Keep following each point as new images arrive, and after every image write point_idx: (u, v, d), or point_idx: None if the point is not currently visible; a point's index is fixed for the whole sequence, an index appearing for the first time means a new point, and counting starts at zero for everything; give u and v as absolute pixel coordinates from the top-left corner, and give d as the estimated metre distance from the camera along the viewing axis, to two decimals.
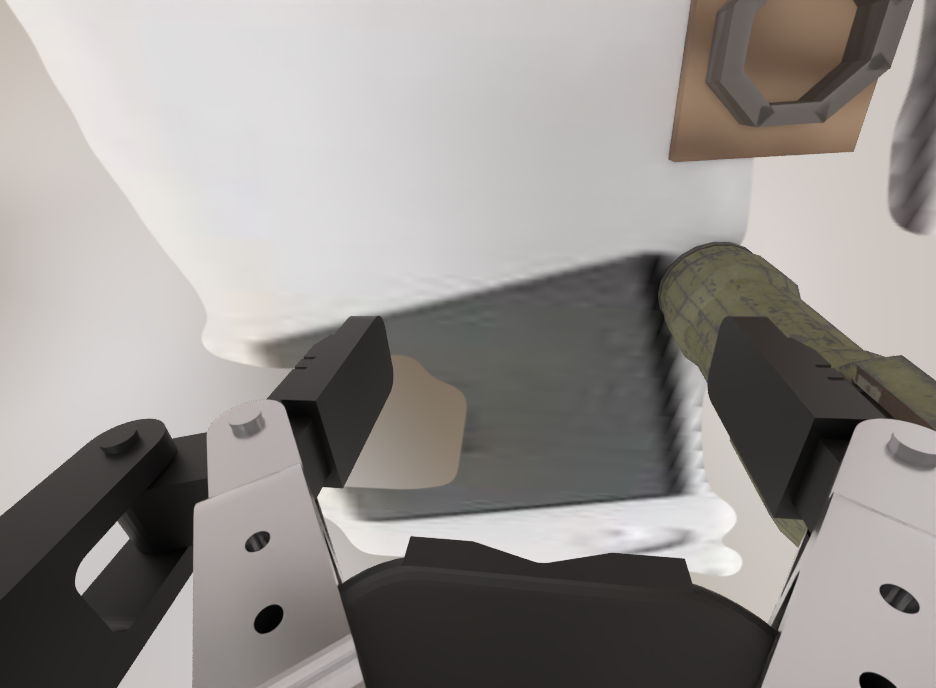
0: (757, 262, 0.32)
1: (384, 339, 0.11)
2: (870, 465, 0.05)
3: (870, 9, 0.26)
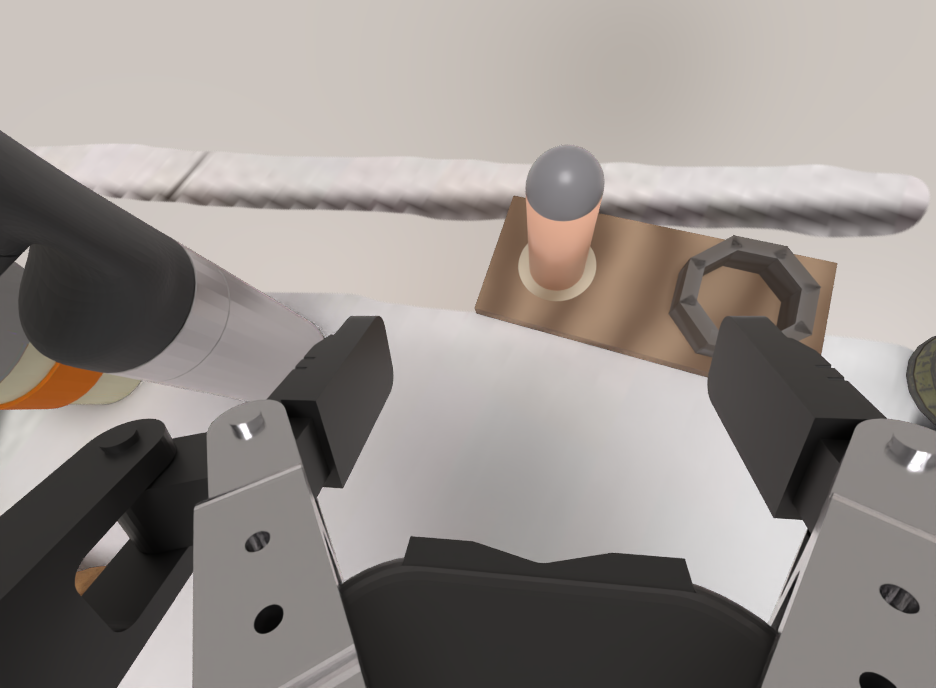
0: None
1: (384, 339, 0.11)
2: (870, 465, 0.05)
3: (733, 259, 0.36)
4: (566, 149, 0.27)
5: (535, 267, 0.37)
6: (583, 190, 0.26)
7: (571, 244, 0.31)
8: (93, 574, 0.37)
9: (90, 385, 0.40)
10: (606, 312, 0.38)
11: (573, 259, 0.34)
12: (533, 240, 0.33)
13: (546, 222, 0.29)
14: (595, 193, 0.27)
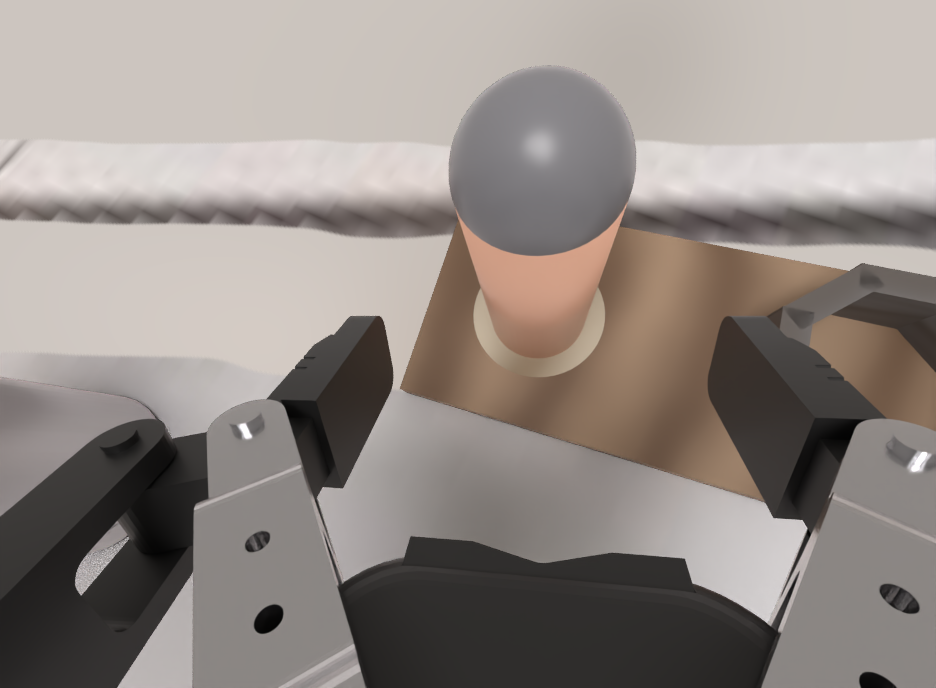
0: None
1: (384, 339, 0.11)
2: (870, 465, 0.05)
3: (855, 305, 0.20)
4: (540, 72, 0.10)
5: (497, 325, 0.20)
6: (586, 178, 0.10)
7: (560, 297, 0.14)
8: None
9: None
10: (625, 398, 0.22)
11: (564, 319, 0.17)
12: (483, 285, 0.16)
13: (499, 257, 0.12)
14: (617, 186, 0.10)
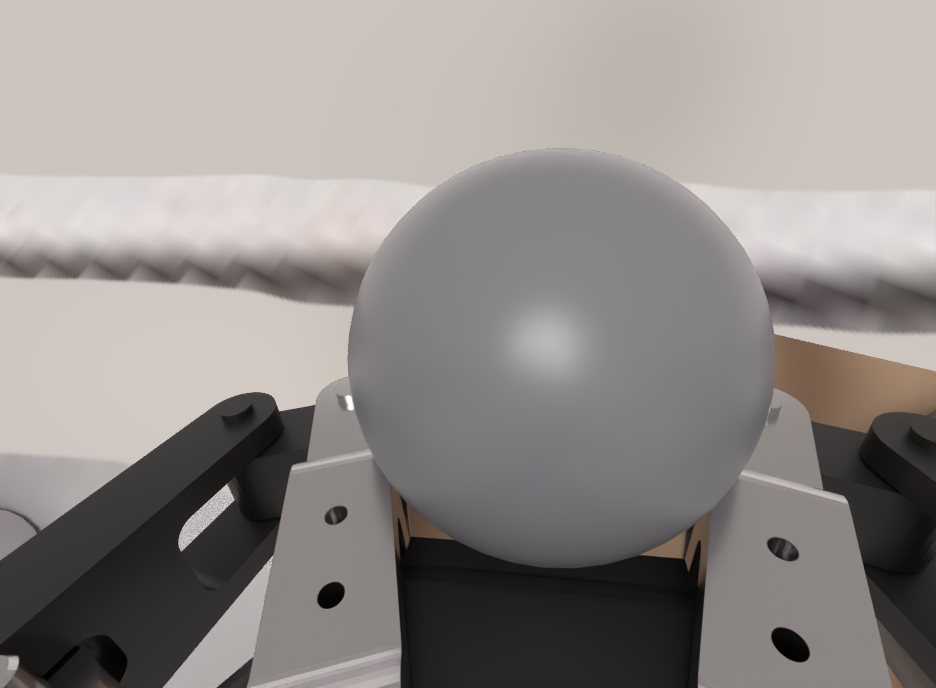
0: None
1: None
2: None
3: None
4: (550, 181, 0.04)
5: None
6: (677, 480, 0.04)
7: None
8: None
9: None
10: None
11: None
12: None
13: None
14: (742, 461, 0.04)
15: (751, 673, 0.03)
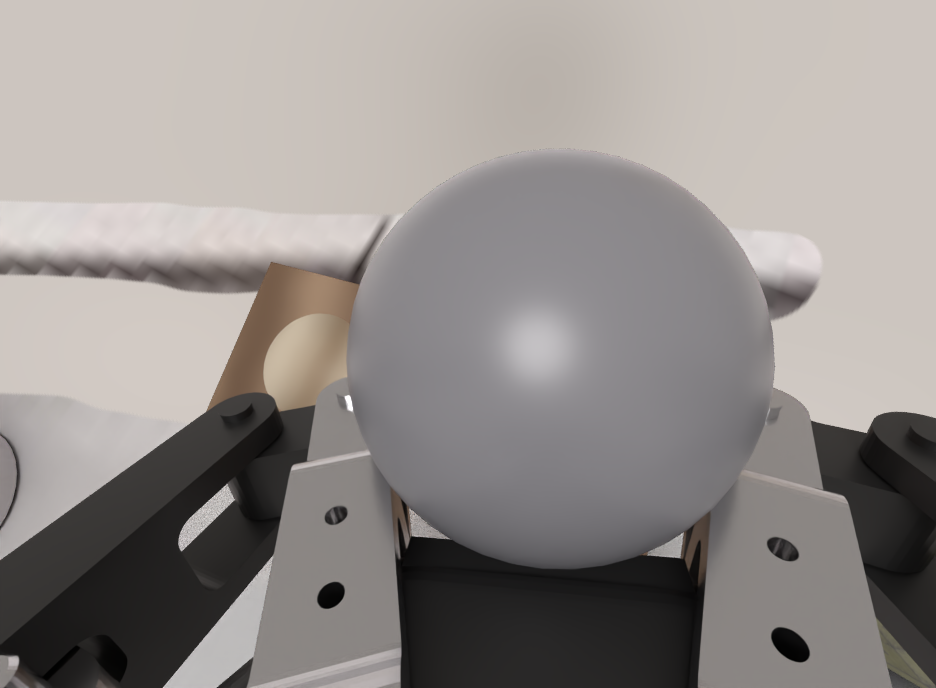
0: None
1: None
2: None
3: None
4: (549, 180, 0.04)
5: None
6: (675, 481, 0.04)
7: None
8: None
9: None
10: None
11: None
12: None
13: None
14: (741, 462, 0.04)
15: (751, 673, 0.03)
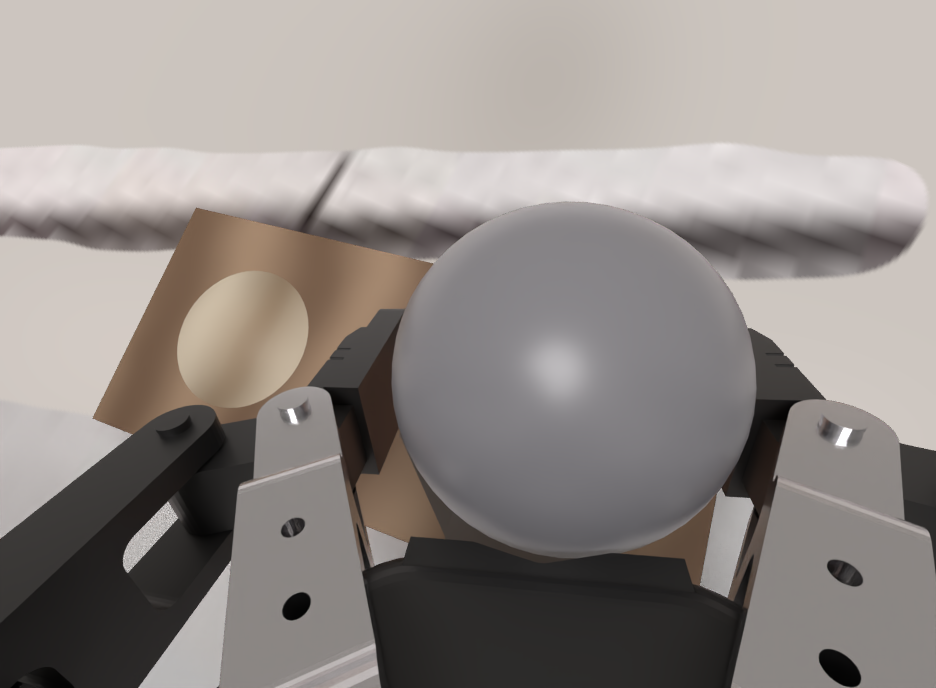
0: None
1: None
2: (805, 445, 0.06)
3: None
4: (575, 239, 0.05)
5: None
6: (676, 485, 0.04)
7: None
8: None
9: None
10: None
11: None
12: None
13: None
14: (728, 469, 0.05)
15: (791, 687, 0.03)
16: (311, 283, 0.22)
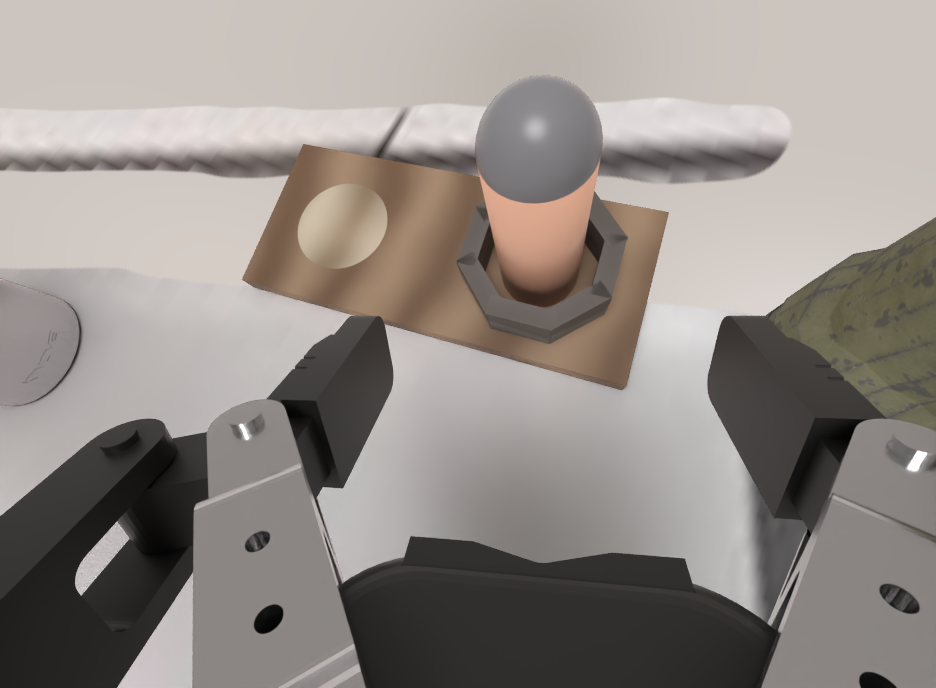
0: (801, 302, 0.22)
1: (384, 339, 0.11)
2: (870, 465, 0.05)
3: None
4: (537, 79, 0.16)
5: (507, 276, 0.26)
6: (567, 147, 0.15)
7: (554, 241, 0.20)
8: None
9: None
10: (392, 280, 0.30)
11: (558, 264, 0.23)
12: (497, 237, 0.22)
13: (510, 206, 0.18)
14: (588, 153, 0.16)
15: None
16: (388, 190, 0.32)
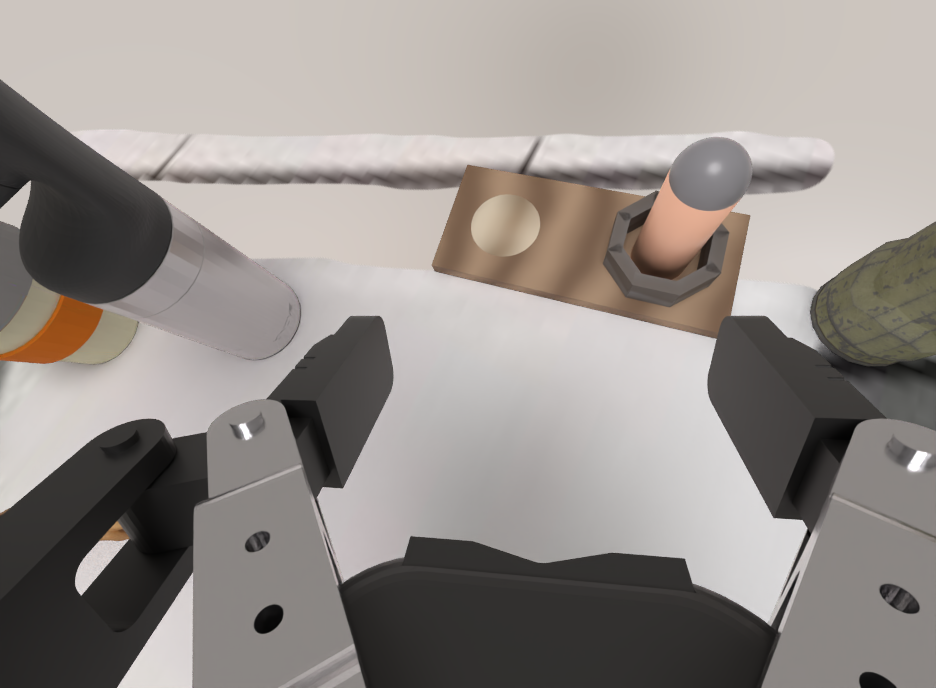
0: (851, 273, 0.34)
1: (384, 339, 0.11)
2: (870, 465, 0.05)
3: None
4: (720, 141, 0.27)
5: (647, 259, 0.38)
6: (739, 180, 0.27)
7: (704, 234, 0.32)
8: None
9: (83, 340, 0.44)
10: (548, 264, 0.42)
11: (695, 249, 0.34)
12: (660, 232, 0.33)
13: (691, 212, 0.29)
14: (747, 183, 0.28)
15: None
16: (538, 199, 0.44)
